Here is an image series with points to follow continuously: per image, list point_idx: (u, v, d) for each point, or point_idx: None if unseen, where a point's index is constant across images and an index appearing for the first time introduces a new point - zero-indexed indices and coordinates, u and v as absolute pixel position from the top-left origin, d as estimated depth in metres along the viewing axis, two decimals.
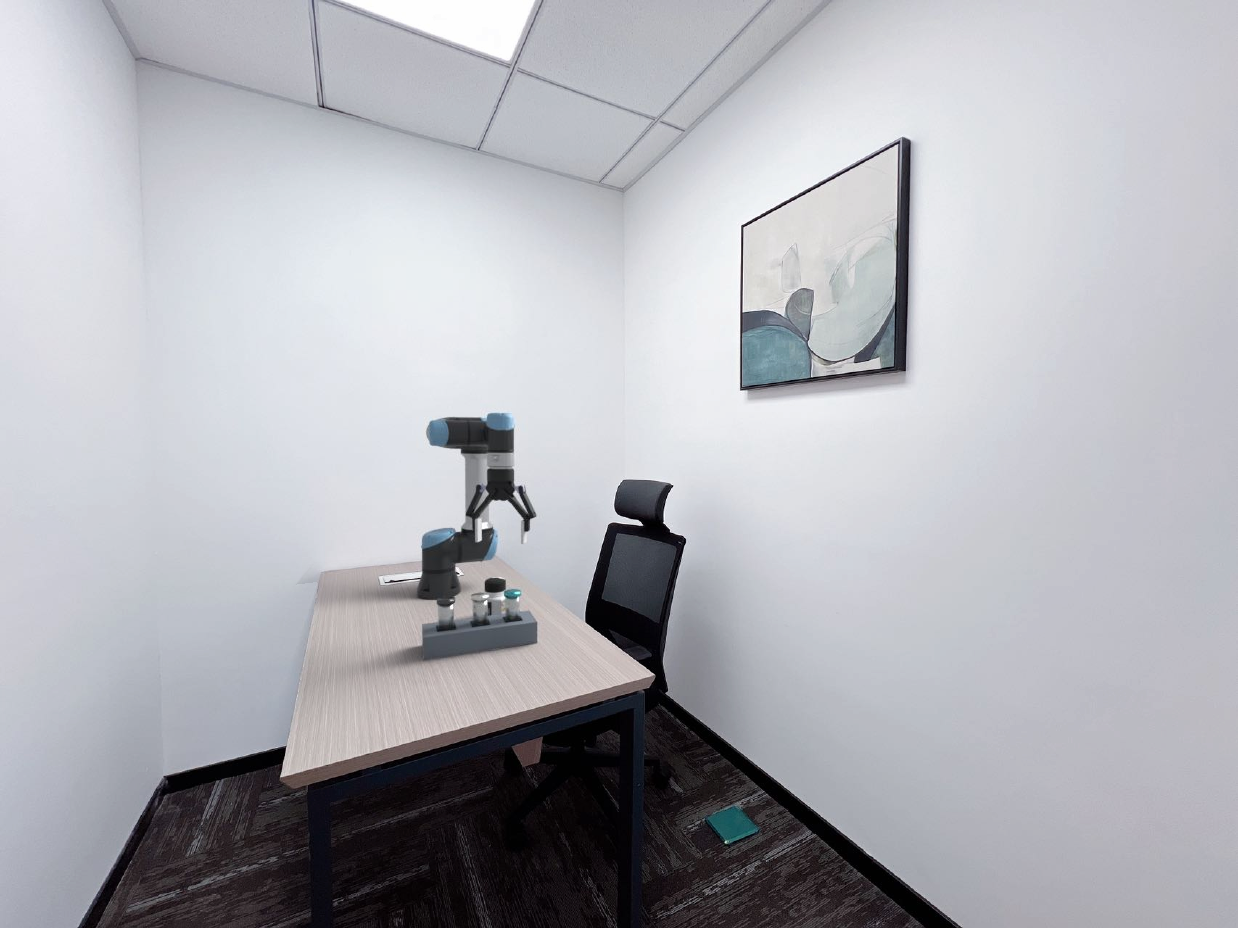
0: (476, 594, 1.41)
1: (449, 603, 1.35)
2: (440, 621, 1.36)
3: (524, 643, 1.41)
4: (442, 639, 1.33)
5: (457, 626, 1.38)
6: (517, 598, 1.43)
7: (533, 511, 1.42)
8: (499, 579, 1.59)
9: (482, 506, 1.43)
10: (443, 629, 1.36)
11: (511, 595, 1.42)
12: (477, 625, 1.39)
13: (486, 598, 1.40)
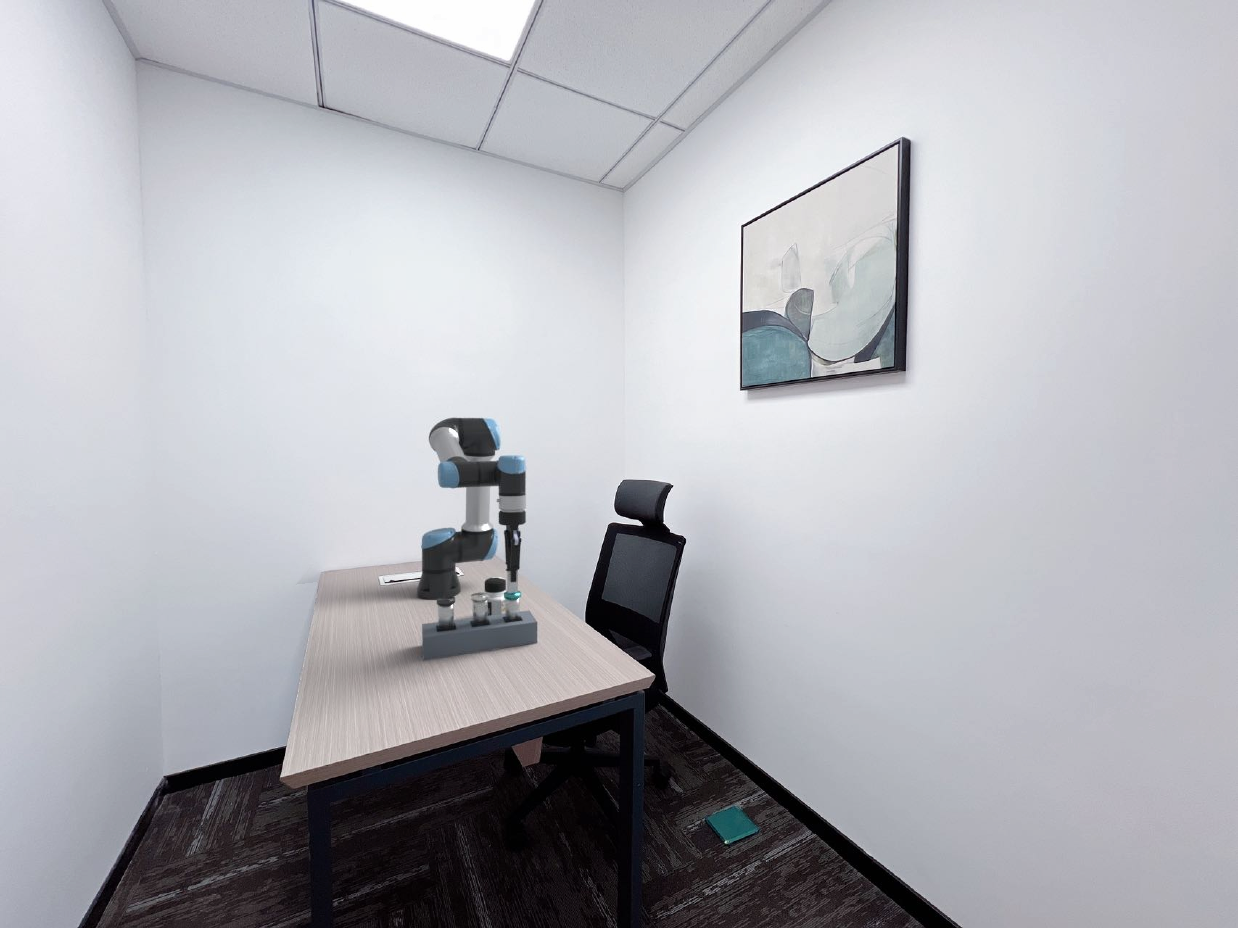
0: (476, 594, 1.41)
1: (449, 603, 1.35)
2: (440, 621, 1.36)
3: (524, 643, 1.41)
4: (442, 639, 1.33)
5: (457, 626, 1.38)
6: (517, 599, 1.43)
7: (515, 565, 1.40)
8: (499, 579, 1.59)
9: (507, 552, 1.44)
10: (443, 629, 1.36)
11: (511, 596, 1.42)
12: (477, 625, 1.39)
13: (486, 598, 1.40)
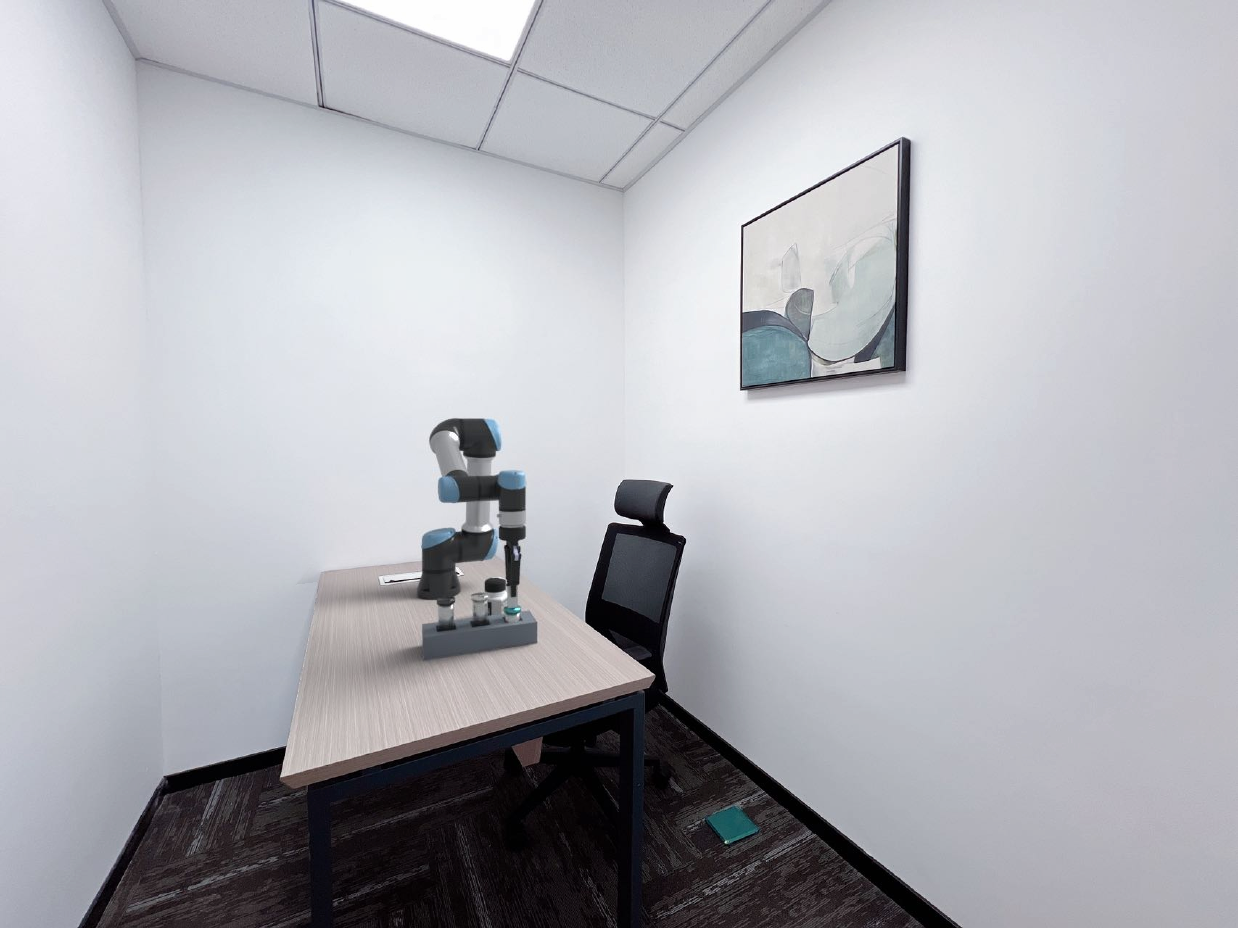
0: (476, 594, 1.41)
1: (449, 603, 1.35)
2: (440, 621, 1.36)
3: (524, 643, 1.41)
4: (442, 639, 1.33)
5: (457, 626, 1.38)
6: (517, 614, 1.43)
7: (515, 580, 1.40)
8: (499, 579, 1.59)
9: (507, 567, 1.44)
10: (443, 629, 1.36)
11: (511, 611, 1.42)
12: (477, 625, 1.39)
13: (486, 598, 1.40)
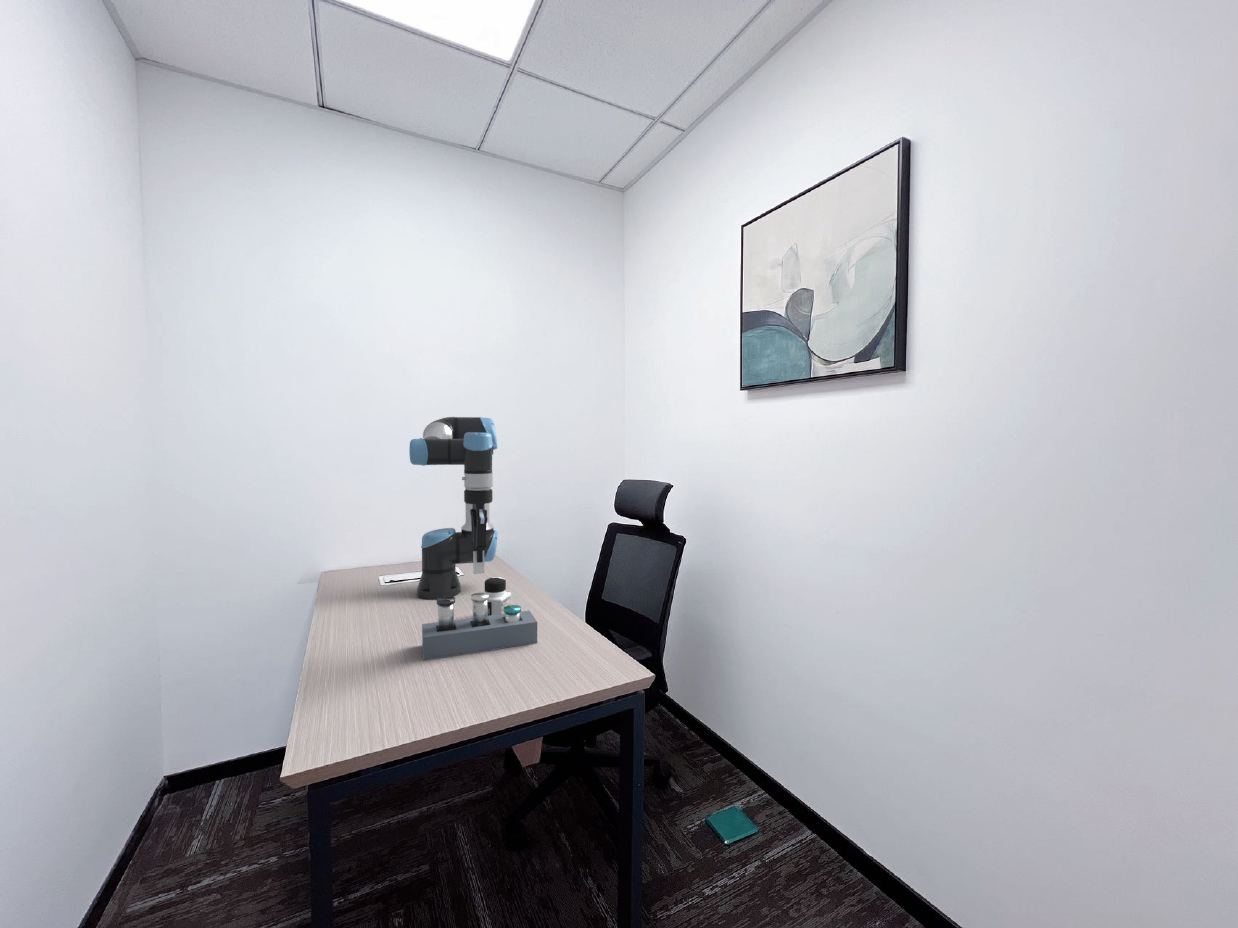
0: (476, 594, 1.41)
1: (449, 603, 1.35)
2: (440, 621, 1.36)
3: (524, 643, 1.41)
4: (442, 639, 1.33)
5: (457, 626, 1.38)
6: (517, 614, 1.43)
7: (481, 544, 1.36)
8: (499, 579, 1.59)
9: (473, 532, 1.40)
10: (443, 629, 1.36)
11: (511, 611, 1.42)
12: (477, 625, 1.39)
13: (486, 598, 1.40)
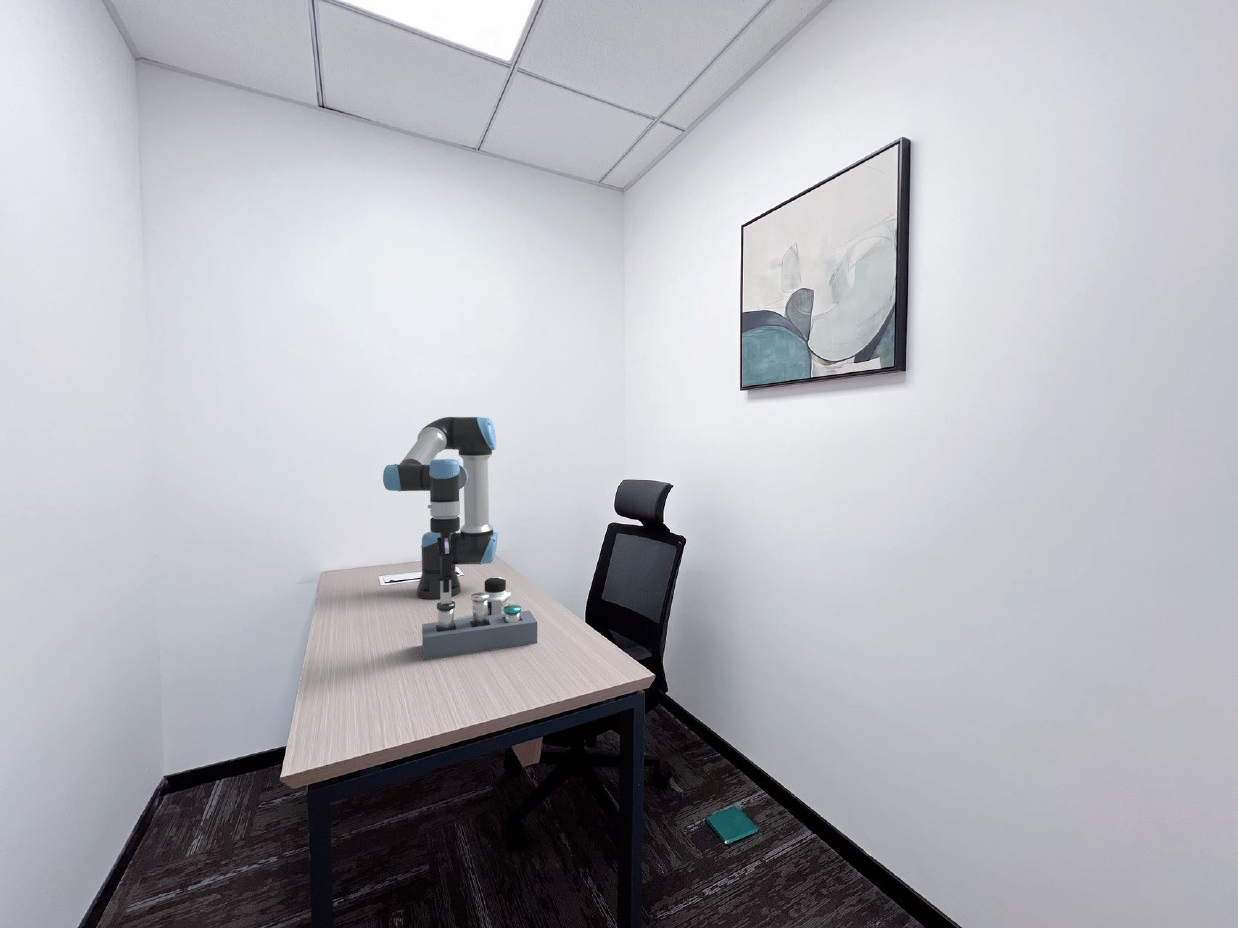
0: (476, 594, 1.41)
1: (449, 608, 1.36)
2: (440, 626, 1.36)
3: (524, 643, 1.41)
4: (442, 639, 1.33)
5: (457, 626, 1.38)
6: (517, 614, 1.43)
7: (447, 574, 1.33)
8: (499, 579, 1.59)
9: (440, 561, 1.37)
10: None
11: (511, 611, 1.42)
12: (477, 625, 1.39)
13: (486, 598, 1.40)
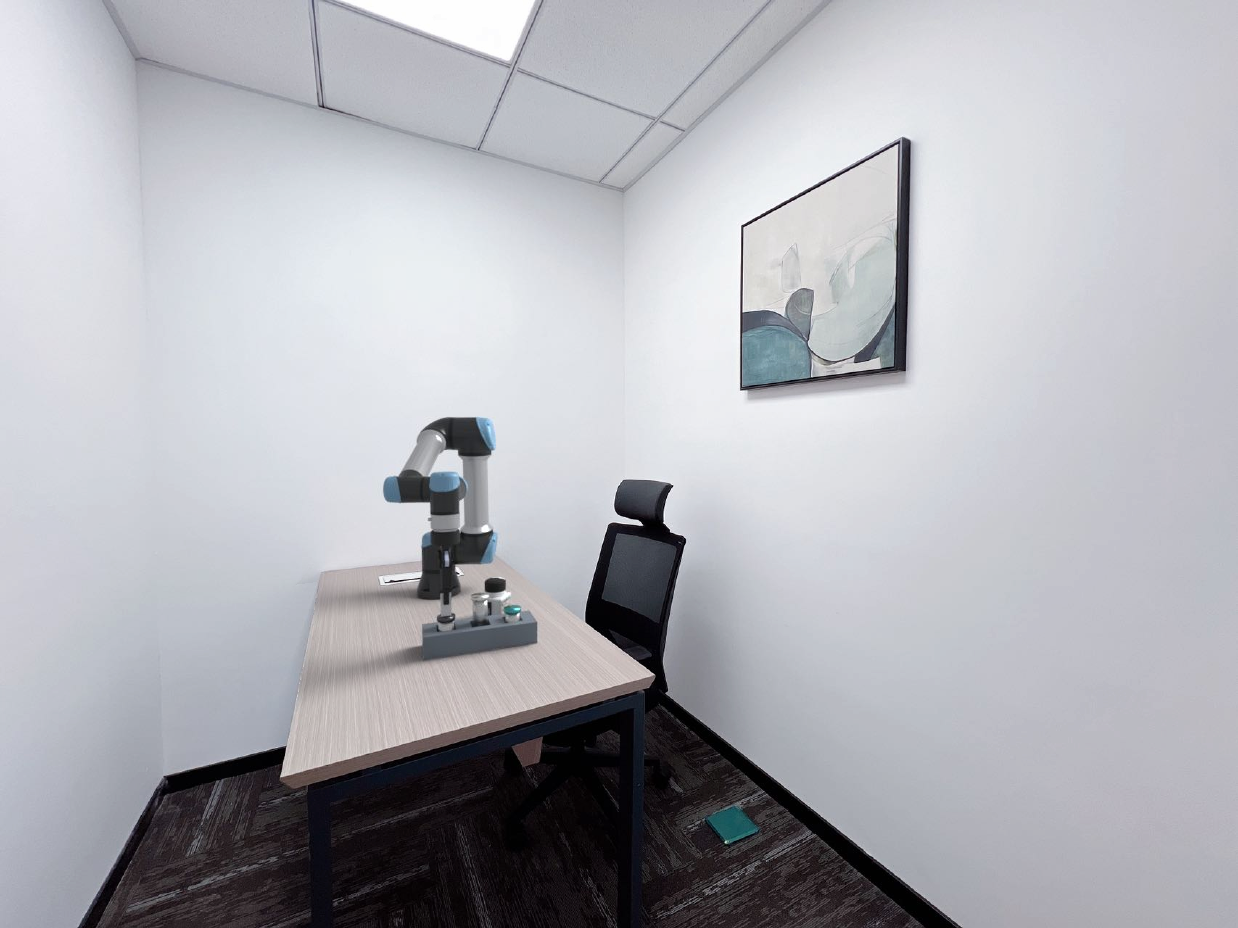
0: (476, 594, 1.41)
1: (449, 620, 1.36)
2: None
3: (524, 643, 1.41)
4: (442, 639, 1.33)
5: (457, 626, 1.38)
6: (517, 614, 1.43)
7: (447, 587, 1.33)
8: (499, 579, 1.59)
9: None
10: None
11: (511, 611, 1.42)
12: (477, 625, 1.39)
13: (486, 598, 1.40)
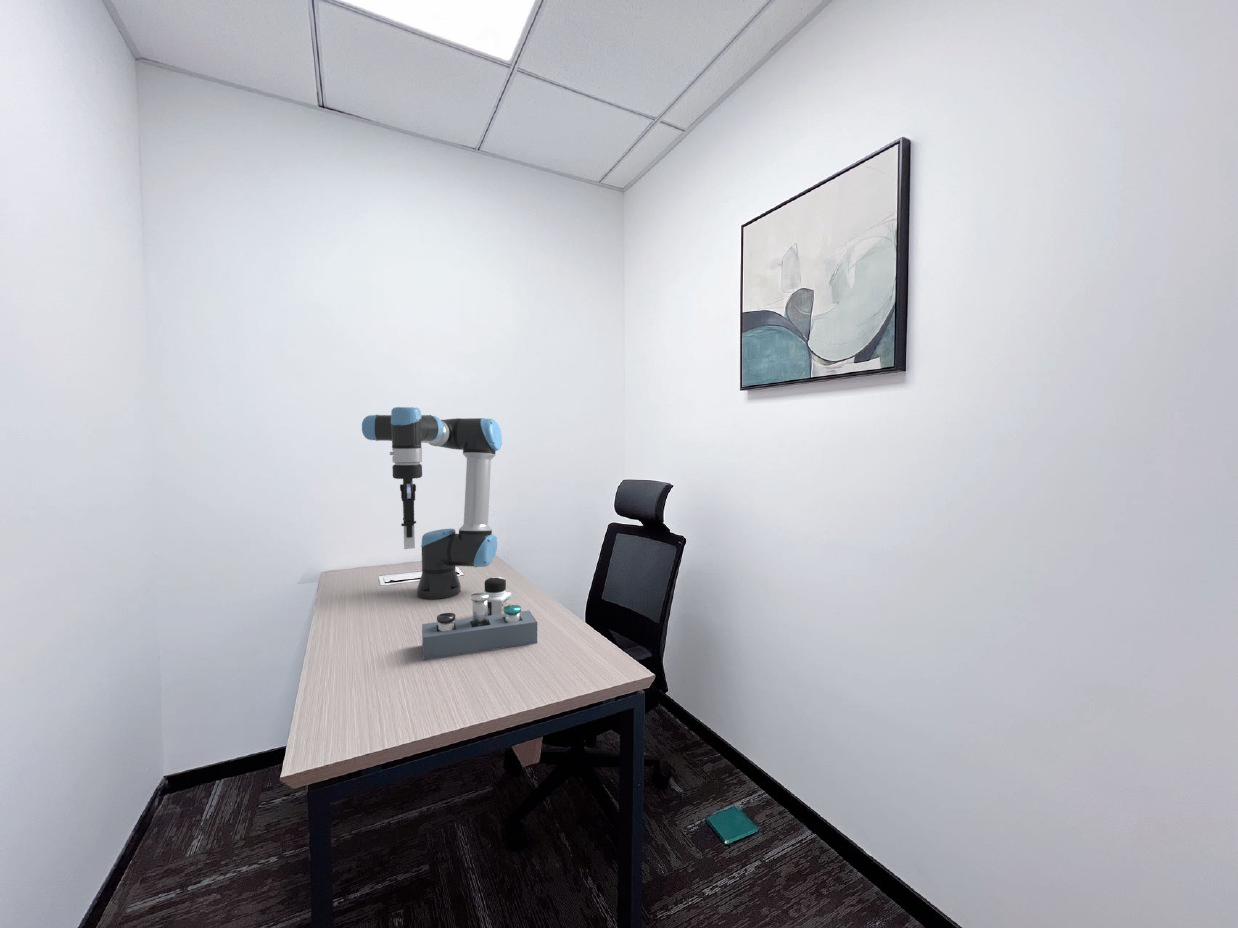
0: (476, 594, 1.41)
1: (449, 620, 1.36)
2: None
3: (524, 643, 1.41)
4: (442, 639, 1.33)
5: (457, 626, 1.38)
6: (517, 614, 1.43)
7: (409, 519, 1.37)
8: (499, 579, 1.59)
9: (403, 507, 1.40)
10: None
11: (511, 611, 1.42)
12: (477, 625, 1.39)
13: (486, 598, 1.40)
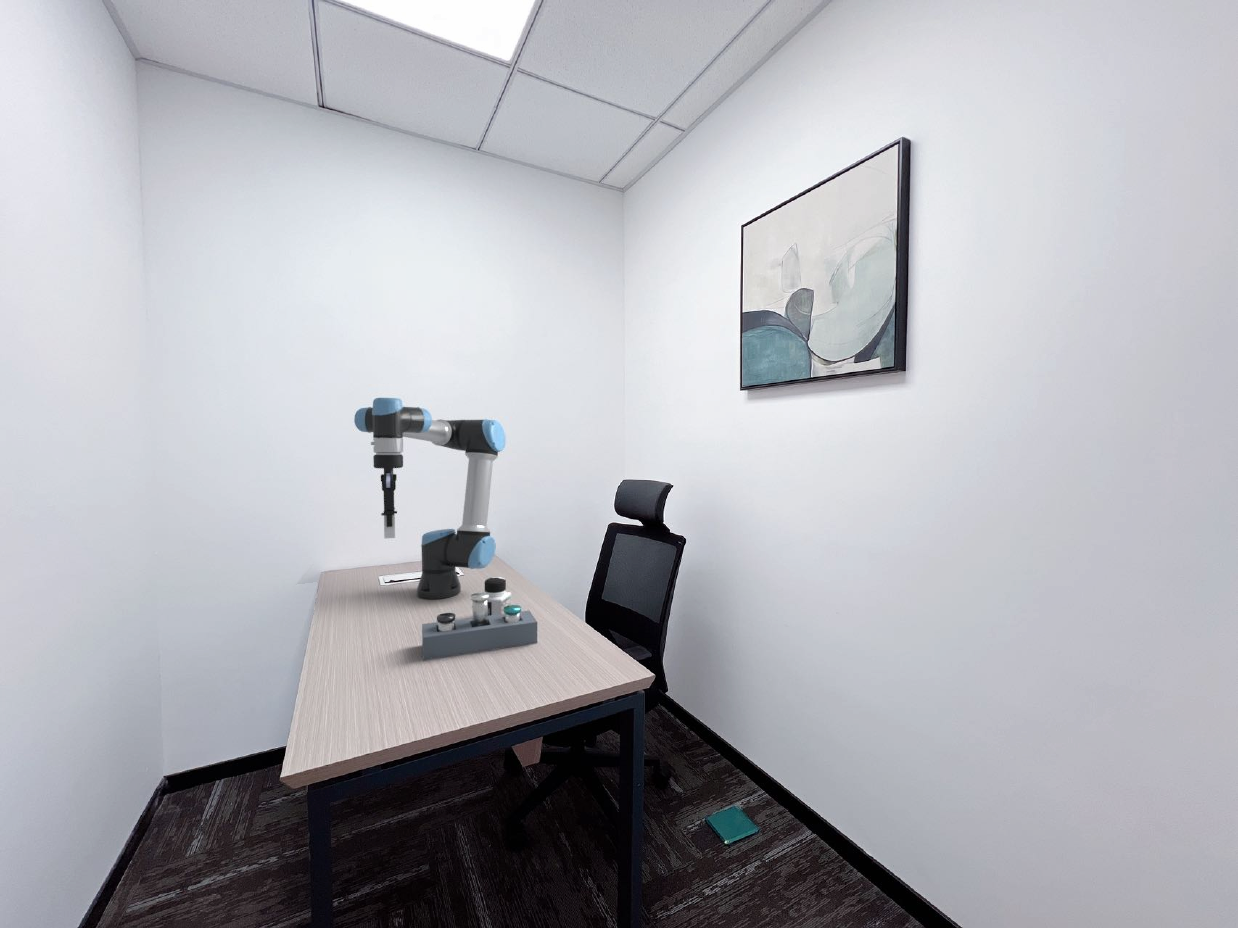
0: (476, 594, 1.41)
1: (449, 620, 1.36)
2: None
3: (524, 643, 1.41)
4: (442, 639, 1.33)
5: (457, 626, 1.38)
6: (517, 614, 1.43)
7: (389, 508, 1.38)
8: (499, 579, 1.59)
9: None
10: None
11: (511, 611, 1.42)
12: (477, 625, 1.39)
13: (486, 598, 1.40)
